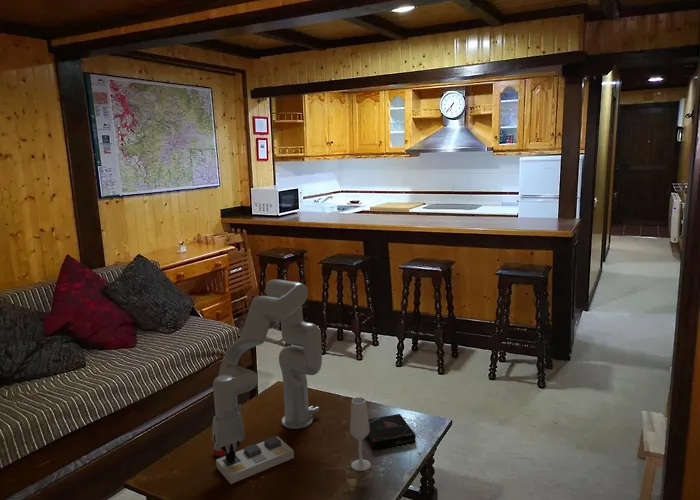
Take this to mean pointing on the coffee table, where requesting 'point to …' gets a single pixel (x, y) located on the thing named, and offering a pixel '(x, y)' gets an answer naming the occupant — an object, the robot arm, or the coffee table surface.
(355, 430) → the champagne flute
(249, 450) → the button mid
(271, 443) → the button
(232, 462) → the button
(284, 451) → the button board
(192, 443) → the coffee table surface
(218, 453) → the race car
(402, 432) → the portable cd player
